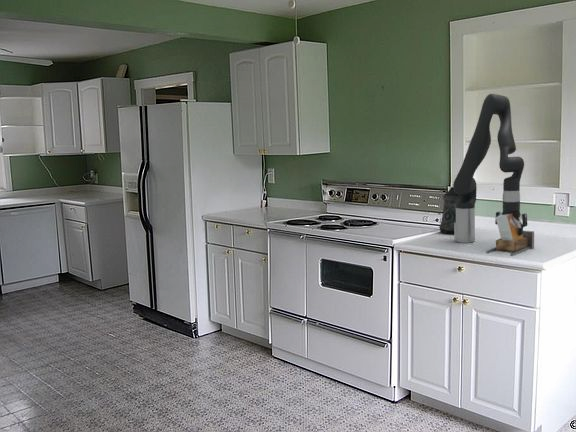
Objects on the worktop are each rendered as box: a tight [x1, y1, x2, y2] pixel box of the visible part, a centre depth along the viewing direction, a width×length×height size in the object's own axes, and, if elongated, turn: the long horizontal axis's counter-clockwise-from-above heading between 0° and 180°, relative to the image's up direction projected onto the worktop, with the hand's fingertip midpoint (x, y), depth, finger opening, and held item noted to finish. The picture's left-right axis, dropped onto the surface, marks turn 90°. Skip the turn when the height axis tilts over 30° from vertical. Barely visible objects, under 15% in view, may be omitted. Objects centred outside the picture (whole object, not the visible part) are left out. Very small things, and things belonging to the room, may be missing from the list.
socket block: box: [495, 237, 528, 253], centre depth 274 cm, size 10×12×5 cm
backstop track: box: [485, 230, 535, 257], centre depth 272 cm, size 14×21×8 cm, turn 135°
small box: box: [495, 214, 523, 241], centre depth 273 cm, size 8×6×13 cm
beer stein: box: [438, 186, 459, 236], centre depth 323 cm, size 16×19×25 cm
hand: (510, 234), depth 273 cm, fingers open, 8 cm apart
